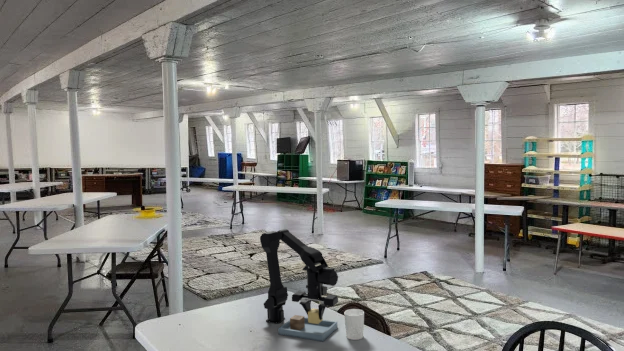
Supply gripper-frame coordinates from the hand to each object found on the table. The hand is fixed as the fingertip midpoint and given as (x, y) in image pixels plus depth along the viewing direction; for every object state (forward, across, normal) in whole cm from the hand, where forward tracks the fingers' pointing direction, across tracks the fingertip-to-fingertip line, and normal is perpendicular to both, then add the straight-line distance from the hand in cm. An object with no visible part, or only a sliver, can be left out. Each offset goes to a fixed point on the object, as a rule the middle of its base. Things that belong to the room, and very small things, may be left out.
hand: (315, 318), depth 193 cm
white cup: (+6, -17, -2) cm, 18 cm away
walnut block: (+5, +8, 0) cm, 10 cm away
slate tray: (+6, +3, 0) cm, 7 cm away
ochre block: (+1, 0, 0) cm, 1 cm away
